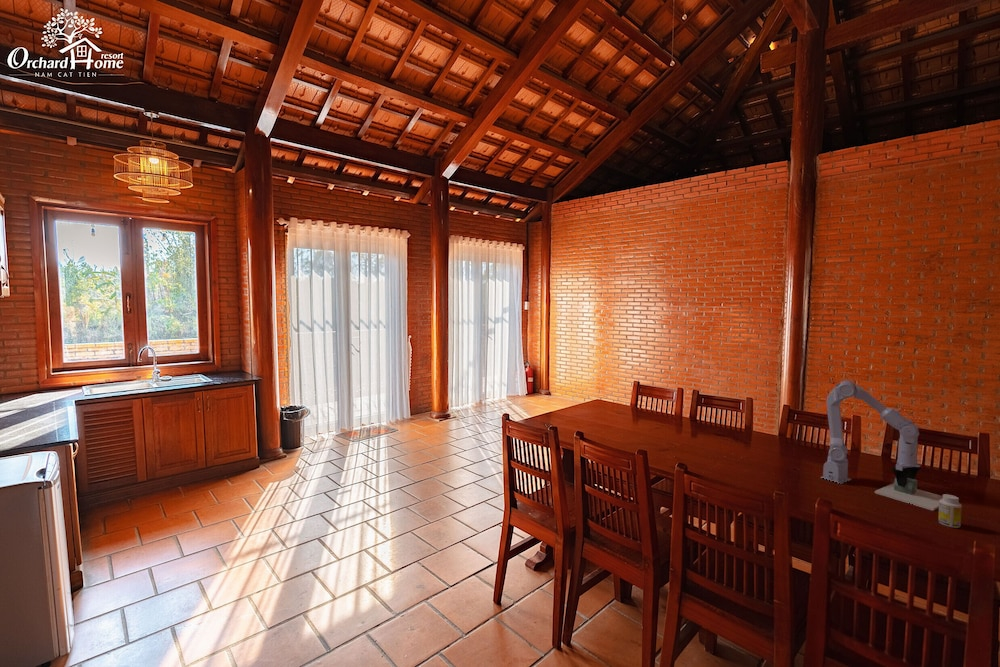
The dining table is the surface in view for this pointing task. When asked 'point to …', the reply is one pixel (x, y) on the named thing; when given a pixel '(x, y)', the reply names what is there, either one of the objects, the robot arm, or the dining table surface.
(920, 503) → the pin plate
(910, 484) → the collar
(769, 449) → the dining table surface
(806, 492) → the dining table surface
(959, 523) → the supplement bottle
